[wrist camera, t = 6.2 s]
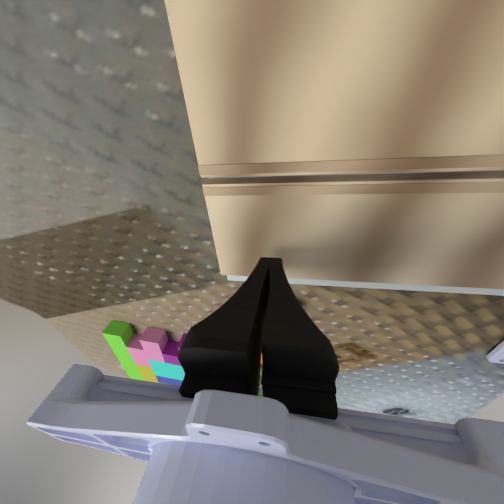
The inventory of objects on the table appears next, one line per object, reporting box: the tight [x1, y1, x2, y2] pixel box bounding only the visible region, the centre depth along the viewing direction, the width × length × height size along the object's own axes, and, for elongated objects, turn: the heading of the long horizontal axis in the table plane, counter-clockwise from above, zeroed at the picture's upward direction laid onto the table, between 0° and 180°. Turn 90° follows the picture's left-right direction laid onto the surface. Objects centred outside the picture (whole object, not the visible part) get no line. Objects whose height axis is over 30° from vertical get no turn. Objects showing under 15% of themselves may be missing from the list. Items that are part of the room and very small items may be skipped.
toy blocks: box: [102, 320, 263, 397], centre depth 26 cm, size 23×2×25 cm
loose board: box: [202, 171, 504, 289], centre depth 13 cm, size 22×7×1 cm, turn 94°
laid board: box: [165, 0, 504, 177], centre depth 8 cm, size 22×7×1 cm, turn 94°
